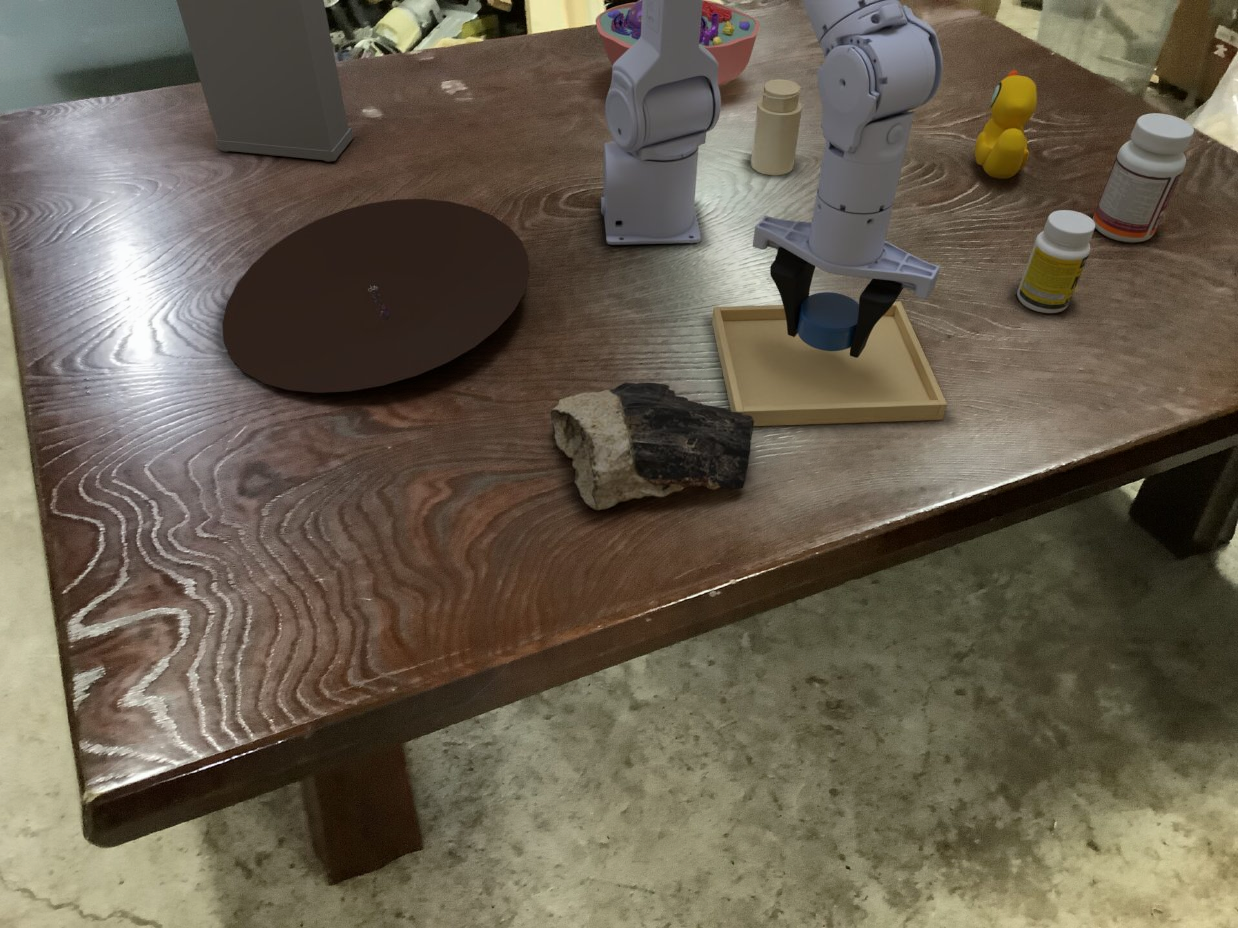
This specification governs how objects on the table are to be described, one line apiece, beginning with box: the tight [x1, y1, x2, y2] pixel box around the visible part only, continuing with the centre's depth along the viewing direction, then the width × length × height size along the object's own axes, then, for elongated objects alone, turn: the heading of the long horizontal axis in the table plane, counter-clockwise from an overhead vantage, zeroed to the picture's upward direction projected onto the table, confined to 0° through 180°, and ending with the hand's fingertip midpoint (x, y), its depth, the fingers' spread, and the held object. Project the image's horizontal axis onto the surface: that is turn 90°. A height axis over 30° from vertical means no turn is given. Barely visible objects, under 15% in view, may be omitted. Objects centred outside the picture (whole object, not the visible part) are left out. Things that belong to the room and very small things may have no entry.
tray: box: [711, 301, 948, 427], centre depth 84 cm, size 17×14×2 cm
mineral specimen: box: [550, 381, 755, 511], centre depth 75 cm, size 13×7×15 cm
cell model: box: [595, 0, 761, 88], centre depth 120 cm, size 17×20×11 cm
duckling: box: [974, 69, 1039, 180], centre depth 107 cm, size 11×5×10 cm, turn 168°
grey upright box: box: [175, 0, 355, 163], centre depth 104 cm, size 14×6×25 cm, turn 80°
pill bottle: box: [1092, 112, 1195, 243], centre depth 97 cm, size 6×6×11 cm
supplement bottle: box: [1016, 209, 1096, 314], centre depth 89 cm, size 5×5×8 cm
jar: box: [750, 78, 803, 176], centre depth 107 cm, size 5×5×9 cm
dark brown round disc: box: [221, 198, 530, 394], centre depth 89 cm, size 28×28×4 cm
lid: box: [797, 291, 859, 351], centre depth 81 cm, size 5×5×2 cm
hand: (826, 340), depth 83 cm, fingers closed on lid, 5 cm apart
